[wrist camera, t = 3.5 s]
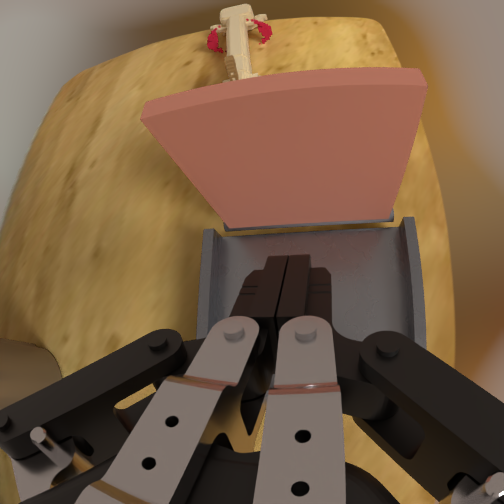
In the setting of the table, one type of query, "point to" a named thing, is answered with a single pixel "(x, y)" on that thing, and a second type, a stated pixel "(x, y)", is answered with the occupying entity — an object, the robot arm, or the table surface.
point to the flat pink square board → (295, 144)
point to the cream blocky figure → (238, 39)
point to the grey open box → (342, 276)
